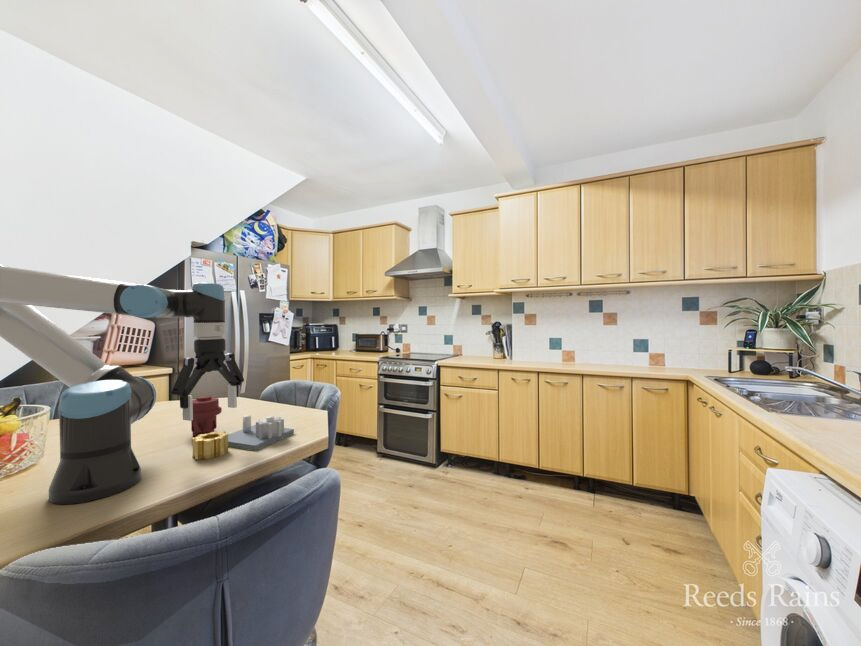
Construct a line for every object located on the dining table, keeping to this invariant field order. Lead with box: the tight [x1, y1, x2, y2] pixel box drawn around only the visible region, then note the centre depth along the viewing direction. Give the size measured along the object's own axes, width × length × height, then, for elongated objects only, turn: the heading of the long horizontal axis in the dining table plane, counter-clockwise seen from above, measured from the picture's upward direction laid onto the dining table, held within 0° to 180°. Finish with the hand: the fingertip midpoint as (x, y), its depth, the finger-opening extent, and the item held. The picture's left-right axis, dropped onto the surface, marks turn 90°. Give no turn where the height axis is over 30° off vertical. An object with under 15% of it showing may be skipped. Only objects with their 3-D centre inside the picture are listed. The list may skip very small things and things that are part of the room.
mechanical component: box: [190, 395, 223, 437], centre depth 117 cm, size 12×10×10 cm
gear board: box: [227, 414, 295, 452], centre depth 112 cm, size 16×17×7 cm
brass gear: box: [191, 431, 229, 461], centre depth 99 cm, size 8×8×5 cm
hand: (211, 413), depth 99 cm, fingers open, 13 cm apart
